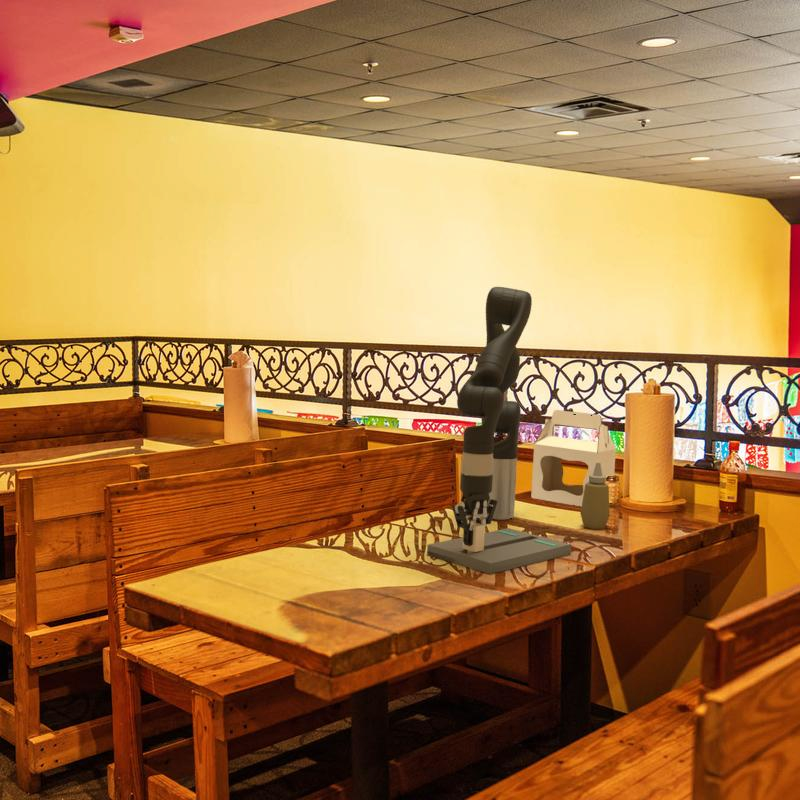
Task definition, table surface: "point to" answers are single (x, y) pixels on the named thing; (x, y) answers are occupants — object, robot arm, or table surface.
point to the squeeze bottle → (595, 501)
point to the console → (501, 551)
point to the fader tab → (476, 538)
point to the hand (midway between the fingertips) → (473, 543)
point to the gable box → (569, 457)
